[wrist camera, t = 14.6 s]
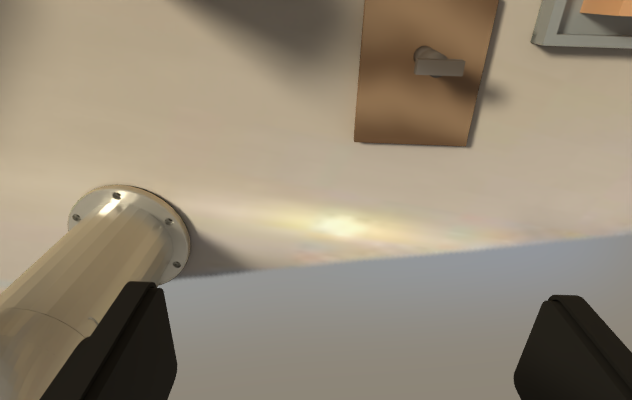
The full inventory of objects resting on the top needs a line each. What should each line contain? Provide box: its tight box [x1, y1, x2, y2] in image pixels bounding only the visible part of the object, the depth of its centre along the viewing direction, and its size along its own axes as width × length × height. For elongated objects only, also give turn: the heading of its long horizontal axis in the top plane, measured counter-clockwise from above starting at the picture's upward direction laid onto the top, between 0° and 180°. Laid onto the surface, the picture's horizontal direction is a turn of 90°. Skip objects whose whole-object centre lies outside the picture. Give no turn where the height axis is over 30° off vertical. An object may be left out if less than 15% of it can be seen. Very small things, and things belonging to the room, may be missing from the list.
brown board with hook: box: [354, 0, 499, 146], centre depth 30 cm, size 12×10×6 cm
